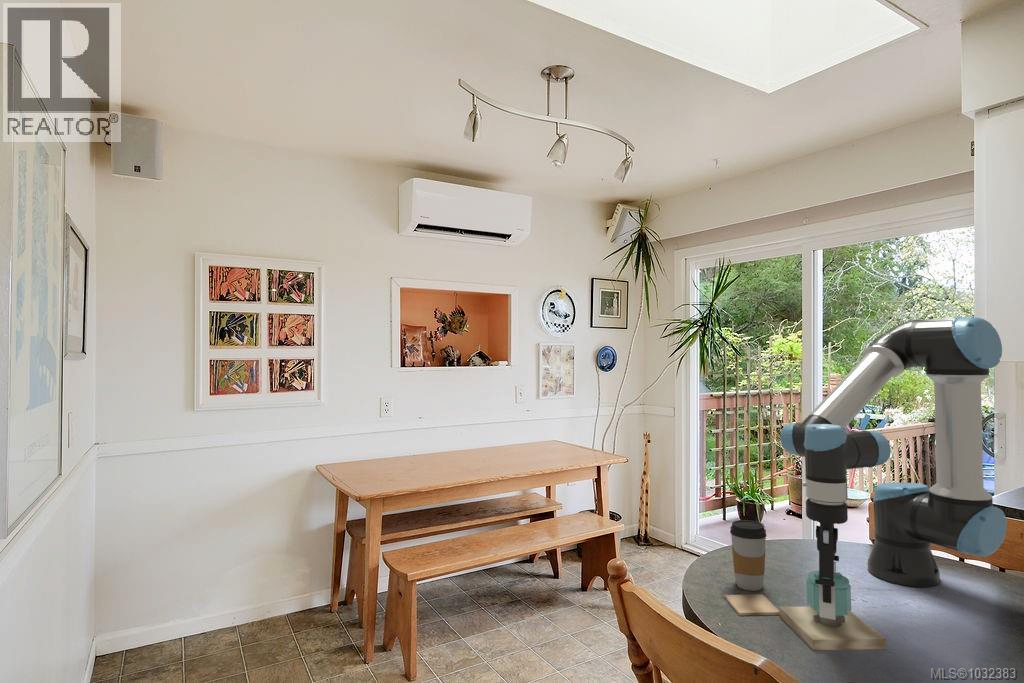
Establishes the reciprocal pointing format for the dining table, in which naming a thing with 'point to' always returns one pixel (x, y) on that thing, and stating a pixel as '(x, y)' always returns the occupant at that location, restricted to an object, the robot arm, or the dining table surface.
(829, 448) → the robot arm
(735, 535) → the coffee cup
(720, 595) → the dining table surface
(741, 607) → the coaster
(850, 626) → the post base
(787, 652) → the dining table surface
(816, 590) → the cap
